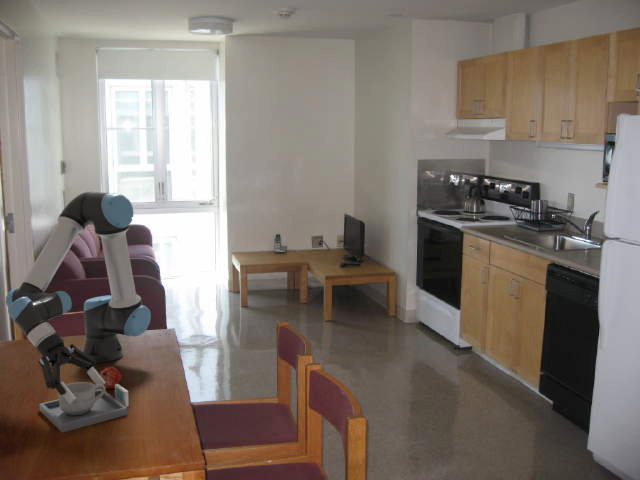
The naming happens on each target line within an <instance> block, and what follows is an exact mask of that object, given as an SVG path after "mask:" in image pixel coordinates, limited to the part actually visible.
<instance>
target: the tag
mask: <svg viewBox="0 0 640 480" xmlns="http://www.w3.org/2000/svg"><path fill="white" fill-rule="evenodd" d="M114 395H115V396H114V398H115V399H116V400H118V401H119V402H120V403H121V404H123V405H124V406H125V407H127V408H128V407H129V405H130V403H129V391H128V390H127V389H126V388H124V387H123V386H121V385H120V384H119V383H118V384H115V388H114Z"/></svg>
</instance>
